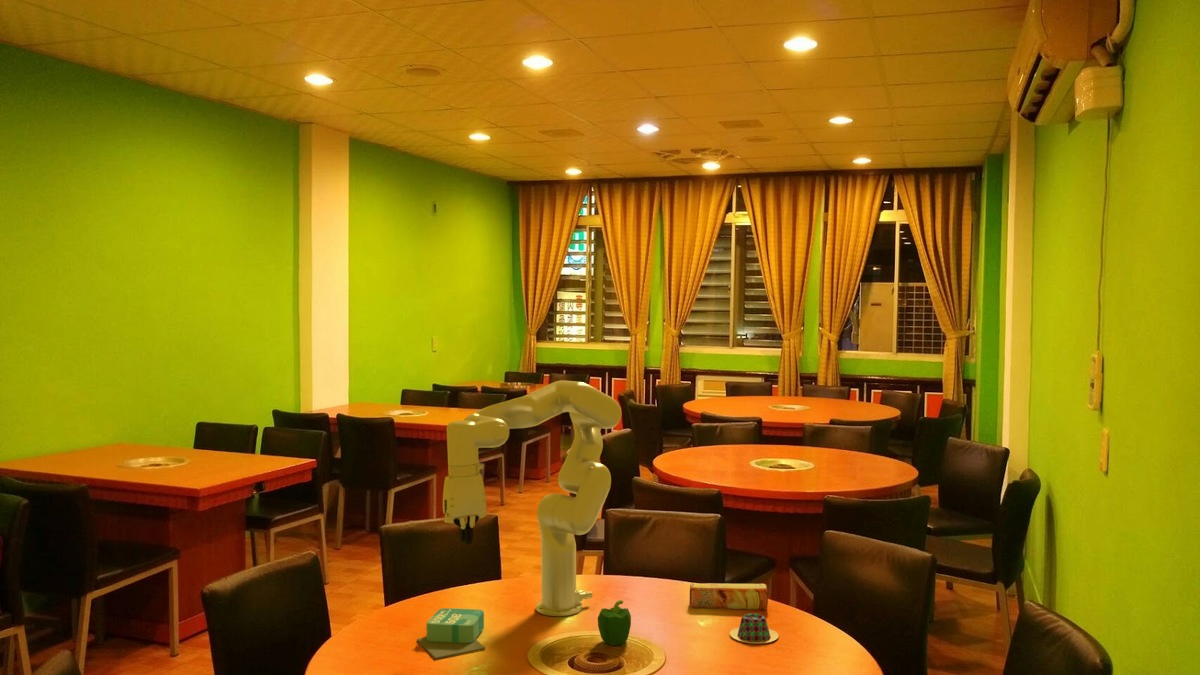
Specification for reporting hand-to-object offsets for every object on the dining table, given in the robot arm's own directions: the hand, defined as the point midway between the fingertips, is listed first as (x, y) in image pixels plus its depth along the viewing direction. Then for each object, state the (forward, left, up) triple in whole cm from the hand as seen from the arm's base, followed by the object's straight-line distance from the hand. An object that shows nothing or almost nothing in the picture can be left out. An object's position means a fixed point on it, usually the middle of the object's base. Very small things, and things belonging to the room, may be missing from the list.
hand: (466, 543), depth 223 cm
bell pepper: (-30, +22, -24) cm, 44 cm away
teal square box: (-3, +1, -21) cm, 21 cm away
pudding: (-62, +36, -24) cm, 76 cm away
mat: (+5, +3, -24) cm, 25 cm away
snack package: (-70, +15, -24) cm, 76 cm away
